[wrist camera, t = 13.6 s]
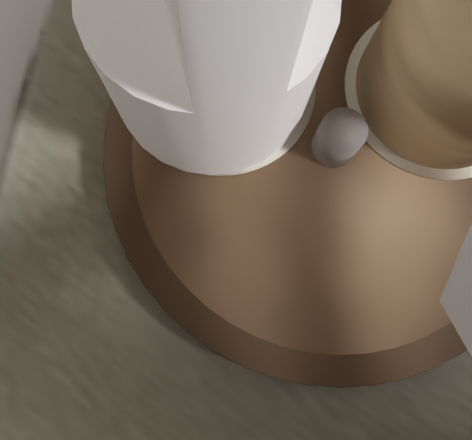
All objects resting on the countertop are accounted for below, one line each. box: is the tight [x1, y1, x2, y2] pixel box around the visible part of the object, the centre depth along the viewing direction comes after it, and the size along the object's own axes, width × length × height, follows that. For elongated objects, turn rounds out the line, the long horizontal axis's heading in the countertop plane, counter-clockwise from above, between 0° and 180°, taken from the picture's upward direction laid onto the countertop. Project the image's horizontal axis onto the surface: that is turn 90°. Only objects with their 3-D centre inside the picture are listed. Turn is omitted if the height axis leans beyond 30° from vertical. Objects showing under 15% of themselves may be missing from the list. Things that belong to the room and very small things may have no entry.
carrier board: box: [104, 0, 472, 388], centre depth 19 cm, size 21×21×3 cm
